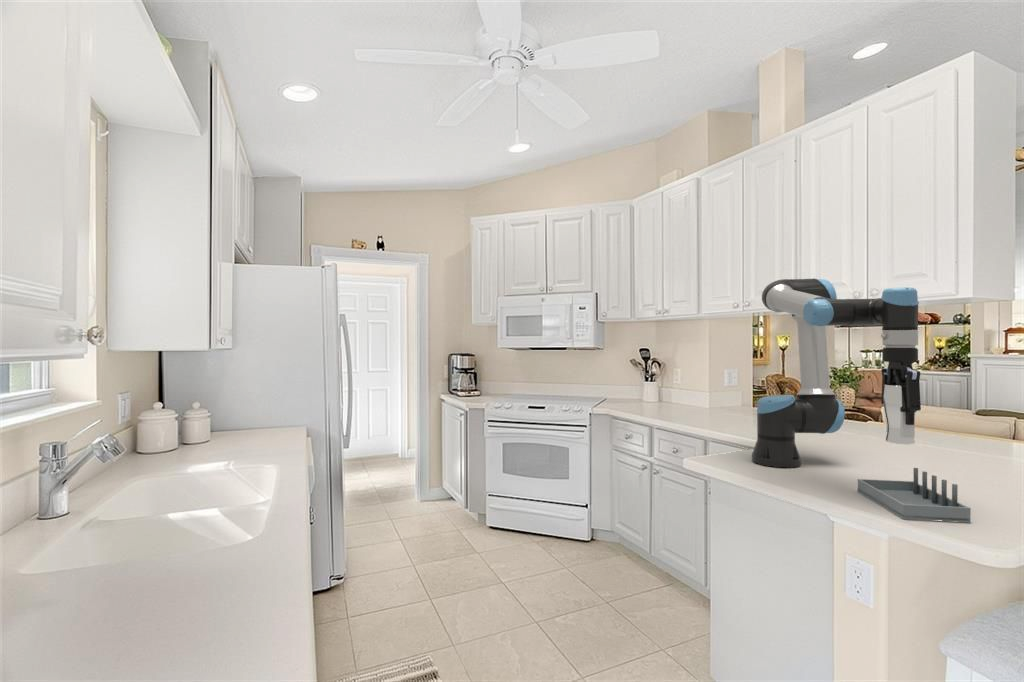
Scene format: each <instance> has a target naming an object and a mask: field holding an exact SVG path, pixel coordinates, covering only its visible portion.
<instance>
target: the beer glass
mask: <svg viewBox="0 0 1024 682" xmlns="http://www.w3.org/2000/svg"><path fill="white" fill-rule="evenodd" d="M903 387H905V388H906V386H903ZM883 408H884V414H885V418H886V427H887V426H888V430H887V429H886V437H885V442H888V443H892V444H896V445H897V444H899V445H915V444H916V443H915V441H916V440H915V438H906V437H901V411H900V410H901V409H903V406H902V391H901V386H894V385H889V384H885V388H884V404H883ZM916 413H917V411H916V412H915V415H916Z"/></svg>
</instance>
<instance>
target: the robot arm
mask: <svg viewBox="0 0 1024 682" xmlns="http://www.w3.org/2000/svg"><path fill="white" fill-rule="evenodd" d="M761 301H762V304H763V305H764V307H765V308H766V309H768V310H769V311H773V312H774V313H787V314H790V315H791V319H793V320H794V321H795V322H796V325H797V339H798V340H797V341H798V356H799V358H798V359H799V372H800V390H799V391H797V393H796V397H795V396H794V395H791V394H774V395H773V394H772V395H766V396H763V397H760V398H759V399H758V400H757V409H756V414H757V415H756V419H757V420H756V421H757V423H756V425H757V426H756V427H757V429H756V430H757V434H756V435H757V438H756V442H755V445H754V448H753V451H752V454H751V461H752V462H753V463H754V462H755V463H754V464H757V463H758V464H757V465H760V464H761V465H762V466H764V465H766V466H765V467H770V466H774V467H773V468H780V467H787V468H786V469H789V467H790V468H793V467H794V468H798V467H801V466H802V465H801V464H802V461H801V460H802V458H801V456H800V453H799V450H798V447H797V445H796V437H795V436H796V434H820V435H821V434H822V435H824V434H833V433H836V432H838V431H839V430H840V429H841V427H842V426H843V423H844V421H845V415H846V414H845V413H846V411H845V407H844V405H843V402H842V401H841V400H839V399H837V398H836V393H835V392H834V391H832V389H831V387H830V374H829V373H830V372H829V359H828V358H829V357H828V341H827V329H826V327H827V326H830V327H831V326H864V327H875V326H881V327H882V329H881V330H882V333H881V335H880V337H881V339H882V346H885V347H882V349H881V350H882V351H881V352H882V354H881V358H882V361H883V362H888V365H887V367H886V368H881V379H882V381H881V401H880V403H881V405H884V388H885V384H889V385H894V386H901V391H902V406H903V409H901V410H900V411H901V437H906V438H914V439H915V435H916V434H915V433H916V431H915V424H916V423H915V417H916V414H915V412H916V413H917V411H918V412H919V411H921V410H922V409H921V408H922V407H921V389H920V388H921V385H920V380H921V372H920V371H919V370H914V367H913V364H912V363H917V362H918V361H919V349H918V347H916V346H918V345H919V328H918V327H919V303H920V302H919V300H918V291H917V289H916V288H914V287H906V286H905V287H891V288H889V287H888V288H885V289H883V291H882V293H881V297H880V298H879V297H878V298H843V299H842V298H838V296H837V292H836V289H835V287H834V285H833V283H832V282H830V280H827V279H822V278H814V277H813V278H793V279H792V278H791V279H787V278H783V279H778V280H775V281H773V282H770V283H769V284H767V285H766V287H765V288H764V289H763V291H762V293H761ZM903 386H906V388H905V387H903ZM887 430H888V426H887V425H886V431H887ZM761 465H760V466H761Z"/></svg>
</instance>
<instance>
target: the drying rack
mask: <svg viewBox="0 0 1024 682" xmlns="http://www.w3.org/2000/svg"><path fill="white" fill-rule="evenodd" d="M921 475H922V477H921V478H922V479H921V480H922V481H921V482H922V484H920V483H919V468H918V467H913V481H911V480H890V479H886V480H885V479H884V480H883V479H868V478H867V479H865V478H858V479H857V492H858V493H859V494H861V495H863V496H864V497H866V498H868V499H869V500H871V501H873V502H874V503H876V504H877V505H879V506H880V507H882V508H884V509H885V510H888V511H889V512H890V513H892V514H894V515H895V516H897V517H898V518H900V519H902V520H904V521H905V520H908V521H922V520H942V521H959V522H970V523H971V507H969V506H967V505H965V504H962V503H960V502H958V500H959V499H958V495H959V494H958V493H959V491H958V488H959V487H958V484H956V483H951V498H950V497H948V492H947V491H948V487H947V484H948V480H947V479H941V493H939V492H937V490H938V489H937V487H938V485H937V479H938V478H937V477H938V476H937V475H933V474H932V475H931V488H928V471H923V470H922V473H921ZM959 522H958V523H959Z"/></svg>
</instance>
